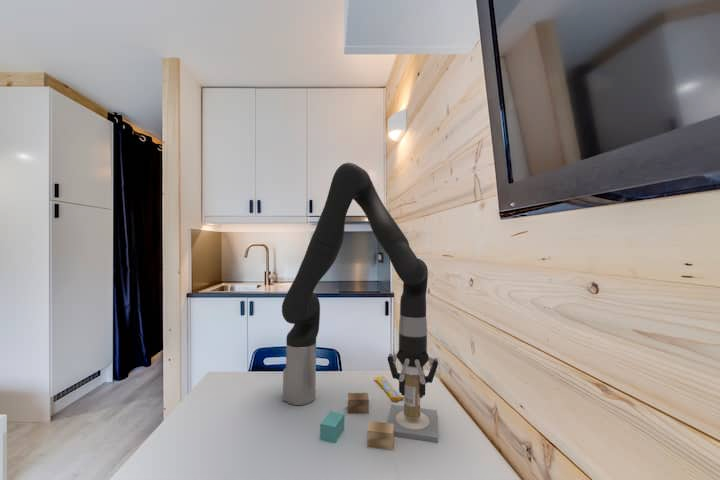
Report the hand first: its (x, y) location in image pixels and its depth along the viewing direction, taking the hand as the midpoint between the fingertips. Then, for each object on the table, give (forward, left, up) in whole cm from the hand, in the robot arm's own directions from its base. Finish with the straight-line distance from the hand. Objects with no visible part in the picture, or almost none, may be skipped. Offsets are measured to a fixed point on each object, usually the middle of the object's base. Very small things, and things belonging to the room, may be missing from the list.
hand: (412, 395), depth 82 cm
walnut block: (-16, +3, -8) cm, 18 cm away
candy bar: (-9, +18, -8) cm, 22 cm away
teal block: (-19, -10, -8) cm, 23 cm away
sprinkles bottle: (0, 0, -5) cm, 6 cm away
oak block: (-7, -10, -8) cm, 14 cm away
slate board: (0, 0, -8) cm, 8 cm away
